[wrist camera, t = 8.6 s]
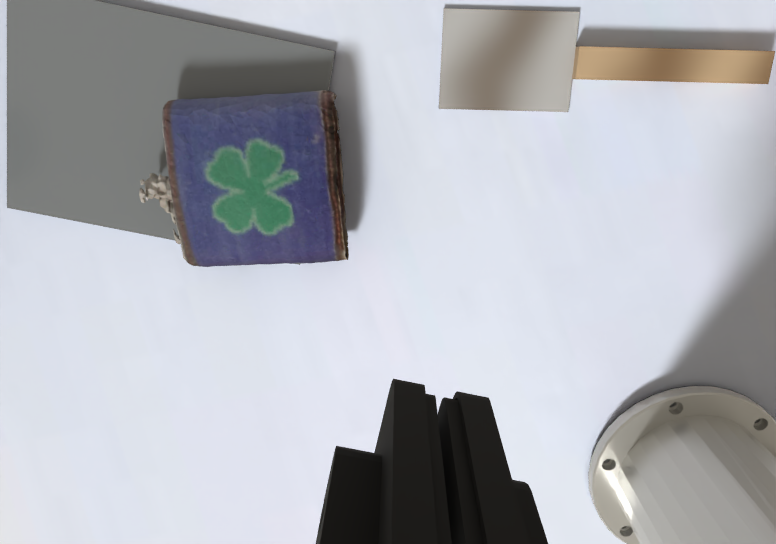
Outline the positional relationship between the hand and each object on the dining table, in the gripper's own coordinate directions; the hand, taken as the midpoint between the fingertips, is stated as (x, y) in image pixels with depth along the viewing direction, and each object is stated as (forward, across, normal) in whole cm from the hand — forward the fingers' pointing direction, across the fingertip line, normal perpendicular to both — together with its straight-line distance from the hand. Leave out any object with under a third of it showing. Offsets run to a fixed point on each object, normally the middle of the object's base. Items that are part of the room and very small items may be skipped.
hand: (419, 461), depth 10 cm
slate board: (+25, +14, 0) cm, 29 cm away
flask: (+23, +3, 0) cm, 24 cm away
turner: (+25, -8, -9) cm, 28 cm away
